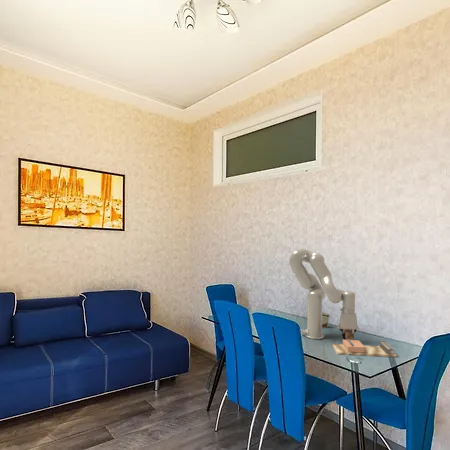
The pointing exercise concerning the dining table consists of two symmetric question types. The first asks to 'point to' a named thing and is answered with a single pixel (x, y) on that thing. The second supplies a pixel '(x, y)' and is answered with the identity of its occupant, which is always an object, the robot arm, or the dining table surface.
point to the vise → (368, 350)
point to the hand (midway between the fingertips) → (347, 338)
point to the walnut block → (348, 334)
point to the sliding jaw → (353, 346)
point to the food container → (325, 320)
